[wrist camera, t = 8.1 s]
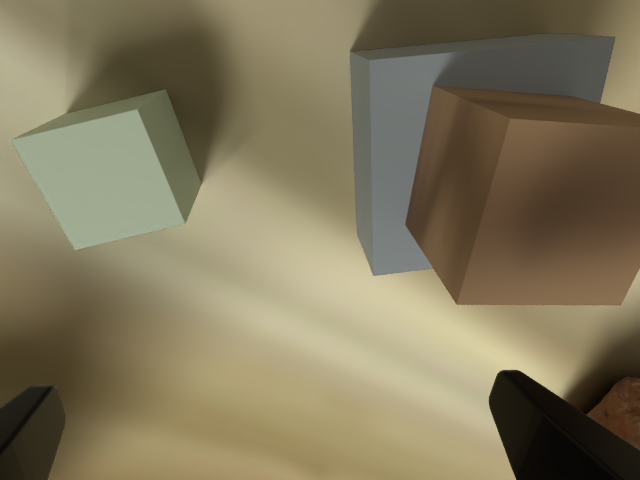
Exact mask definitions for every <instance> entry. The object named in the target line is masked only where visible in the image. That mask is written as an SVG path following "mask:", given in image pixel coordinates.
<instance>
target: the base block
mask: <svg viewBox="0 0 640 480" xmlns="http://www.w3.org/2000/svg"><path fill="white" fill-rule="evenodd" d="M614 41H615V37H608V36H590V35H573V34H556V33H544V34H533V35H523V36H512V37H501V38H491V39H480V40H469V41H458V42H448V43H437V44H426V45H416V46H405V47H394V48H383V49H373V50H362V51H351V52H350V69H351V95H352V120H353V145H354V171H355V196H356V222H357V235H358V238H359V240H360V243H361V245H362V248H363V250H364V253H365V255H366V258H367V261H368V263H369V266H370V268H371V271H372V273H373V276H377V275H385V274H393V273H401V272H409V271H417V270H426V269H433V267H432V266H431V264H430V263H429V261H428V259H427V258H426V256H425V255H424V253H423V252H422V250H421V249H420V247H419V246H418V244H417V243H416V241H415V239H414V238H413V236H412V235H411V233H410V232H409V230H408V229H407V227H406V226H405V222H406V217H407V212H408V207H409V202H410V197H411V192H412V187H413V182H414V177H415V172H416V167H417V161H418V156H419V151H420V146H421V141H422V136H423V131H424V126H425V121H426V116H427V111H428V106H429V101H430V95H431V90H432V86H444V87H457V88H470V89H483V90H496V91H509V92H522V93H535V94H548V95H561V96H573V97H577V98H581V99H585V100H589V101H593V102H596V103H600V101H601V97H602V92H603V88H604V84H605V79H606V75H607V71H608V67H609V62H610V58H611V54H612V49H613V45H614Z"/></svg>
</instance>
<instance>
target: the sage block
mask: <svg viewBox="0 0 640 480" xmlns="http://www.w3.org/2000/svg"><path fill="white" fill-rule="evenodd" d="M11 142H12V144H13V146H14V147H15V149H16V151H17V152H18V154H19V156H20V158H21V159H22V161H23V163H24V164H25V166H26V168H27V170H28V171H29V173H30V175H31V176H32V178H33V180H34V182H35V183H36V185H37V187H38V188H39V190H40V192H41V194H42V195H43V197H44V199H45V200H46V202H47V204H48V206H49V207H50V209H51V211H52V212H53V214H54V216H55V218H56V219H57V221H58V223H59V224H60V226H61V228H62V230H63V231H64V233H65V235H66V236H67V238H68V240H69V242H70V243H71V245H72V247H73V248H74V250H78V249H82V248H87V247H91V246H95V245H99V244H103V243H108V242H112V241H116V240H120V239H124V238H128V237H133V236H137V235H141V234H145V233H149V232H154V231H158V230H162V229H166V228H170V227H174V226H179V225H183V224H185V223H186V221H187V218H188V216H189V213H190V211H191V209H192V206H193V204H194V201H195V199H196V197H197V194H198V192H199V189H200V187H201V181H200V178H199V176H198V173H197V170H196V168H195V165H194V162H193V160H192V157H191V155H190V152H189V149H188V147H187V144H186V141H185V139H184V136H183V133H182V131H181V128H180V125H179V123H178V120H177V117H176V115H175V112H174V109H173V107H172V104H171V101H170V99H169V96H168V93H167V91H166V89H165V90H161V91H156V92H152V93H148V94H144V95H140V96H136V97H132V98H128V99H124V100H120V101H115V102H111V103H107V104H103V105H99V106H95V107H91V108H87V109H83V110H79V111H74V112H70V113H66V114H64V115H62V116H60V117H58V118H56V119H53V120H51V121H49V122H47V123H45V124H43V125H41V126H39V127H37V128H35V129H33V130H31V131H28V132H26V133H24V134H22V135H20V136H18V137H16V138H14V139H12V140H11Z"/></svg>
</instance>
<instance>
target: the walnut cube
mask: <svg viewBox="0 0 640 480" xmlns="http://www.w3.org/2000/svg"><path fill="white" fill-rule="evenodd" d="M405 226H406V227H407V229H408V230H409V232H410V233H411V235H412V236H413V238H414V239H415V241H416V243H417V244H418V246H419V247H420V249H421V250H422V252H423V253H424V255H425V256H426V258H427V259H428V261H429V263H430V264H431V266H432V267H433V269H434V270H435V272H436V273H437V275H438V276H439V278H440V279H441V281H442V283H443V284H444V286H445V287H446V289H447V290H448V292H449V293H450V295H451V296H452V298H453V299H454V301H455V303H456V304H457V305H621V304H622V302H623V300H624V298H625V296H626V294H627V292H628V290H629V288H630V286H631V284H632V282H633V280H634V278H635V276H636V274H637V272H638V270H639V268H640V114H638V113H634V112H631V111H627V110H623V109H619V108H615V107H612V106H608V105H604V104H600V103H596V102H593V101H589V100H585V99H581V98H577V97H573V96H561V95H548V94H535V93H522V92H509V91H496V90H483V89H470V88H457V87H444V86H432V90H431V95H430V101H429V106H428V111H427V116H426V121H425V126H424V131H423V136H422V141H421V146H420V151H419V156H418V161H417V167H416V172H415V177H414V182H413V187H412V192H411V197H410V202H409V207H408V212H407V217H406V222H405Z"/></svg>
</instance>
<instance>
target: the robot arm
mask: <svg viewBox="0 0 640 480" xmlns="http://www.w3.org/2000/svg"><path fill="white" fill-rule="evenodd" d="M489 406H490V410H491V413H492V416H493V418H494V421H495V424H496V426H497V429H498V432H499V435H500V437H501V440H502V443H503V446H504V448H505V451H506V454H507V457H508V459H509V462H510V465H511V467H512V470H513V472H514V475H515V477H516V480H640V450H639V449H637V448H636V447H634V446H633V445H631V444H630V443H628V442H627V441H625V440H624V439H622V438H621V437H619V436H618V435H616V434H615V433H613V432H612V431H610V430H609V429H607V428H606V427H604V426H603V425H601V424H600V423H598V422H597V421H595V420H594V419H592V418H591V417H589V416H587V415H586V414H584V413H583V412H581V411H580V410H578V409H577V408H575V407H574V406H572V405H571V404H569V403H568V402H566V401H565V400H563V399H562V398H560V397H559V396H557V395H556V394H554V393H553V392H551V391H550V390H548V389H547V388H545V387H544V386H542V385H541V384H539V383H538V382H536V381H535V380H533V379H532V378H530V377H529V376H527V375H525V374H524V373H522V372H521V371H518V370H502V371H500V372H499V373H498V374H497V376H496V379H495V382H494V385H493V387H492V390H491V393H490V396H489ZM64 426H65V413H64V409H63V405H62V401H61V397H60V394H59V390H58V388H57V387H56V386H55V385H33V386H30V387H28V388H27V389H25V390H24V391H23V392H21V393H20V394H19V395H17V396H16V397H15V398H13V399H12V400H11V401H9V402H8V403H6V404H5V405H4V406H2V407H1V408H0V480H48V477H49V474H50V471H51V468H52V464H53V461H54V458H55V455H56V452H57V449H58V445H59V442H60V439H61V436H62V433H63V430H64Z"/></svg>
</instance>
